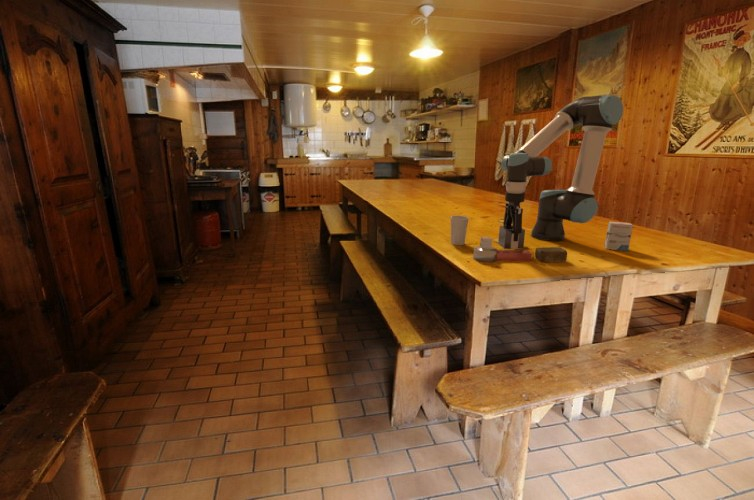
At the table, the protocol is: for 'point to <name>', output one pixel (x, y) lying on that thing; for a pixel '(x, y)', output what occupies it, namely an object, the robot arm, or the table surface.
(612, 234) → the ink box
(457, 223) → the cup
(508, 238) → the socket
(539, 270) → the table surface
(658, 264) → the table surface
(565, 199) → the robot arm
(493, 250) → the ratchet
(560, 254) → the stone block
